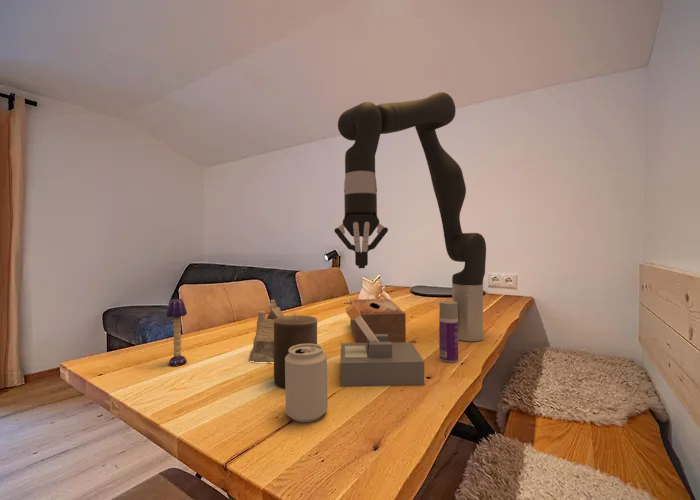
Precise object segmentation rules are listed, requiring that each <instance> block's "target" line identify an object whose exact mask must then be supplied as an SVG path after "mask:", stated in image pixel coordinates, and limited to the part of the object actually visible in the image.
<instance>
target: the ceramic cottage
mask: <svg viewBox="0 0 700 500" xmlns="http://www.w3.org/2000/svg"><path fill="white" fill-rule="evenodd" d="M257 313H258V315H257V320H256V331H255V336H254V338H253V344H252V349H251V350H250V351H249V359H250V360H251V361H254V362H274V320H275V319H276V318H279V317H284V316H285V314H284V313H283V312H282V310H281V308H280V306H277V303H276V301H275V299H270V304H269V313H268V315H267V316H266V311H265V310H261V311H258V312H257ZM249 359H248V360H249Z"/></svg>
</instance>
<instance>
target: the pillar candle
mask: <svg viewBox="0 0 700 500" xmlns="http://www.w3.org/2000/svg"><path fill="white" fill-rule="evenodd" d="M299 344H317V345H318V318H317V317H314V316H311V315H299V314H298V315H296V313H294V314H293V315H292V314H291V315H284V317H279V318H276V319H275V320H274V364H273V383H274V384H275V386H277V387H280V388H283V389H285V357H286V356H287V355H288V353H289V351H288V350H289V348H290V347H292V346H295V345H299Z"/></svg>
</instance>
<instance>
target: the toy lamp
mask: <svg viewBox="0 0 700 500" xmlns="http://www.w3.org/2000/svg"><path fill="white" fill-rule="evenodd" d="M187 312H188V311H187V308H186V305H185V301H184V299H182V298H173V299H170V300H169V302H168V306H167V311H166V317H168V318H172V319H173V320H172V321H173V357H171V358H170V359H169V361H168V366H169V365H170V366H169V367H172V366H173V367H174V366H175V367H177V366H176V365H181V364H184V363H186V362H187V363H188V361H187V358H186V357H185V356H183V355H182V351H181V350H182V345H181V344H182V339H181V338H182V333H181V332H182V327H181V325H182V323H181V320H182V317H185V316H186V315H187V314H188V313H187ZM187 363H186V364H187ZM184 365H185V364H184ZM181 366H182V365H181Z"/></svg>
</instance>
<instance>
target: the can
mask: <svg viewBox="0 0 700 500" xmlns="http://www.w3.org/2000/svg"><path fill="white" fill-rule="evenodd" d="M323 347H324V346H322V345H321V344H318V343H317V344H299V345H295V346H292V347H290V348H289V350H288V351H289V353H288V355H287V356H286V357H285V388H284V389H285V390H284V391H285V392H284V393H285V394H284V395H285V413H286V415H287V416H288V417H289V418H290V419H292V420H293V421H295V422H299V423H311V422H313V421H317V420H319V419H320V418H322V417H323V415H325V413H327V410H328V356H327V353H326V352H324V348H323Z"/></svg>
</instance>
